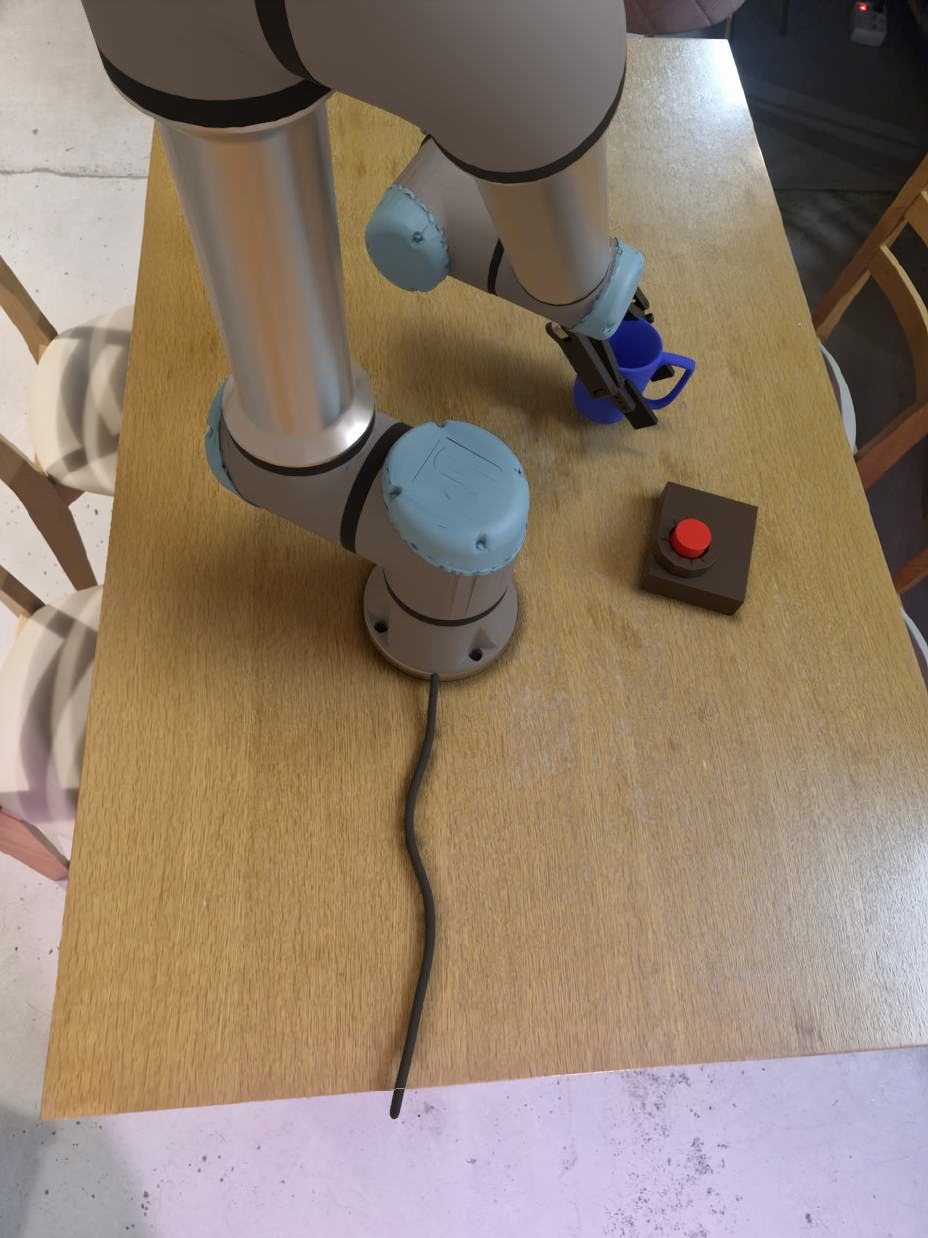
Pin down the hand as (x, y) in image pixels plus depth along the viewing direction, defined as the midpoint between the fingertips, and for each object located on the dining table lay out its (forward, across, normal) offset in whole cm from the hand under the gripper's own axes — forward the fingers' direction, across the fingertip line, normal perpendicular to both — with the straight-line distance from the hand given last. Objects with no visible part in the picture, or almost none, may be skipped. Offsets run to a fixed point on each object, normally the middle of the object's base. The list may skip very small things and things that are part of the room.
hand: (655, 400), depth 93 cm
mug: (0, 0, +5) cm, 5 cm away
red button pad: (+10, -14, -4) cm, 18 cm away
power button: (+6, -16, -6) cm, 18 cm away
